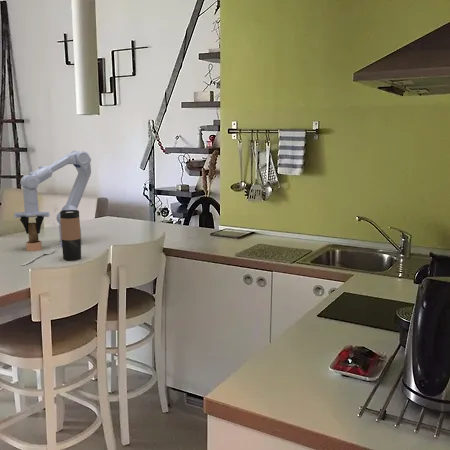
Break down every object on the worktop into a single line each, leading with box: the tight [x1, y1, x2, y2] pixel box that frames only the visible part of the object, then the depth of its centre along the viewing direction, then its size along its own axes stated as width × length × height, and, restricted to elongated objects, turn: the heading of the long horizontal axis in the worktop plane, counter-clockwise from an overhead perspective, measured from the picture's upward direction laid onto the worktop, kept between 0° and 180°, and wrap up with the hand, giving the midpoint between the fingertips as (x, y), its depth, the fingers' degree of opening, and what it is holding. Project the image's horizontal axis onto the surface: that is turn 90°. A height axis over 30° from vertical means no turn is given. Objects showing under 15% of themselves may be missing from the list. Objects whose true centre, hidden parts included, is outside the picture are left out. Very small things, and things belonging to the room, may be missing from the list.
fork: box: [21, 246, 58, 267], centre depth 223 cm, size 3×24×2 cm, turn 166°
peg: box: [27, 222, 40, 243], centre depth 236 cm, size 4×4×9 cm
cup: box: [25, 240, 43, 252], centre depth 237 cm, size 6×6×4 cm
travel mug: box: [59, 209, 82, 262], centre depth 220 cm, size 8×8×20 cm
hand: (33, 233), depth 236 cm, fingers closed on peg, 4 cm apart
